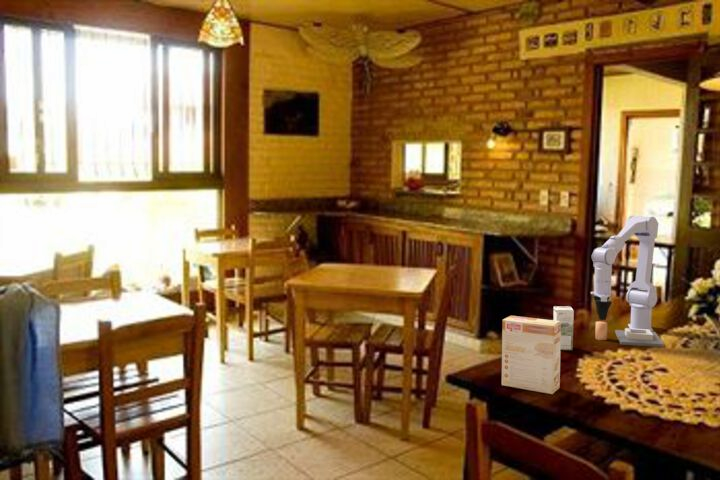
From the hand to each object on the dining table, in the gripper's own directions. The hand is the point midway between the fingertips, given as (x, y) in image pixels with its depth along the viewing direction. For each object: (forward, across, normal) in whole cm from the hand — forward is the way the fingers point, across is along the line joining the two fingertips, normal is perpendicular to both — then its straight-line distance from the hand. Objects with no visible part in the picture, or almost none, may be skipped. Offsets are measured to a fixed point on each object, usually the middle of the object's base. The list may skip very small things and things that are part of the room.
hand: (601, 317), depth 234 cm
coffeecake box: (+8, +61, -24) cm, 66 cm away
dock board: (+8, -2, +13) cm, 15 cm away
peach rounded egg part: (+8, 0, 0) cm, 8 cm away
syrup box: (+8, +17, -14) cm, 23 cm away
